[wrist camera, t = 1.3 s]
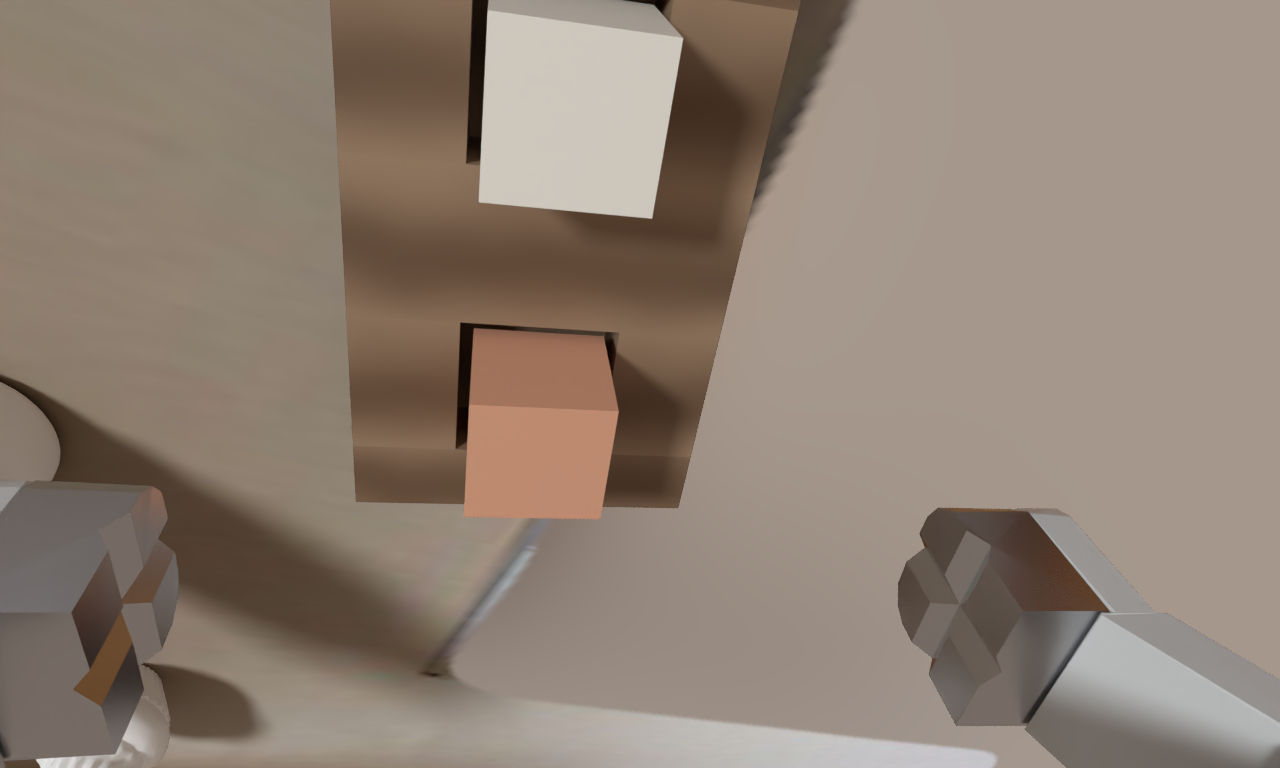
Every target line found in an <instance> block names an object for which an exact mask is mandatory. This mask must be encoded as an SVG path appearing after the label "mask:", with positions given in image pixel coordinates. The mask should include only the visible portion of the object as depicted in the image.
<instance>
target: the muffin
mask: <svg viewBox="0 0 1280 768" xmlns="http://www.w3.org/2000/svg"><path fill="white" fill-rule="evenodd" d="M139 670H140V674H141V678H142V682H143V686H144V691H143V694H142V696H141V698H140V700H139V703H138V705H137V707H136V709H135V712H134V714H133V716H132V718H131V721H130V723H129V725H128V727H127V729H126V732H125V734H124V736H123V738H122V741H121V743H120V745H119V747H118V750H117V752H116V754H113V755H96V756H79V757H62V758H45V759H36V761H37V762H38V764H39V765H40V768H152V767H154V766H155V765H156V764H157V763H158V762H159V761H160V760H161V759H162V758H163V756H164V754H165V752H166V750H167V748H168V744H169V739H170V732H169V727H170V723H169V722H170V715H169V711H168V706H167V702H166V698H165V694H164V690H163V686H162V681H161V678H160V677H158V674H157V673H155V672H154V670H151V669H150V668H149V667H145V666H144V665H140V666H139Z"/></svg>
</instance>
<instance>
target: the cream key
mask: <svg viewBox="0 0 1280 768" xmlns="http://www.w3.org/2000/svg"><path fill="white" fill-rule="evenodd" d="M682 43H683V37H682V36H681V35H680V34H679V33H678V31H677V30H676V29H675V28H674V27H673V26H672V25H671V24H670V22H669V21H668V20H667V19H666V18H665V17H664V16H663V15H662V14H661V12H660V11H659V10H658V9H657V8H656V7H655V6H654V5H652V4H645V3H638V2H632V1H625V0H488V13H487V34H486V55H485V77H484V98H483V119H482V141H481V162H480V183H479V202H480V203H491V204H501V205H512V206H523V207H533V208H544V209H554V210H565V211H576V212H586V213H597V214H607V215H618V216H629V217H639V218H650V219H652V216H653V211H654V205H655V199H656V193H657V187H658V182H659V176H660V170H661V164H662V159H663V153H664V147H665V141H666V135H667V130H668V124H669V118H670V112H671V106H672V101H673V95H674V89H675V83H676V77H677V72H678V66H679V60H680V54H681V49H682Z"/></svg>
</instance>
